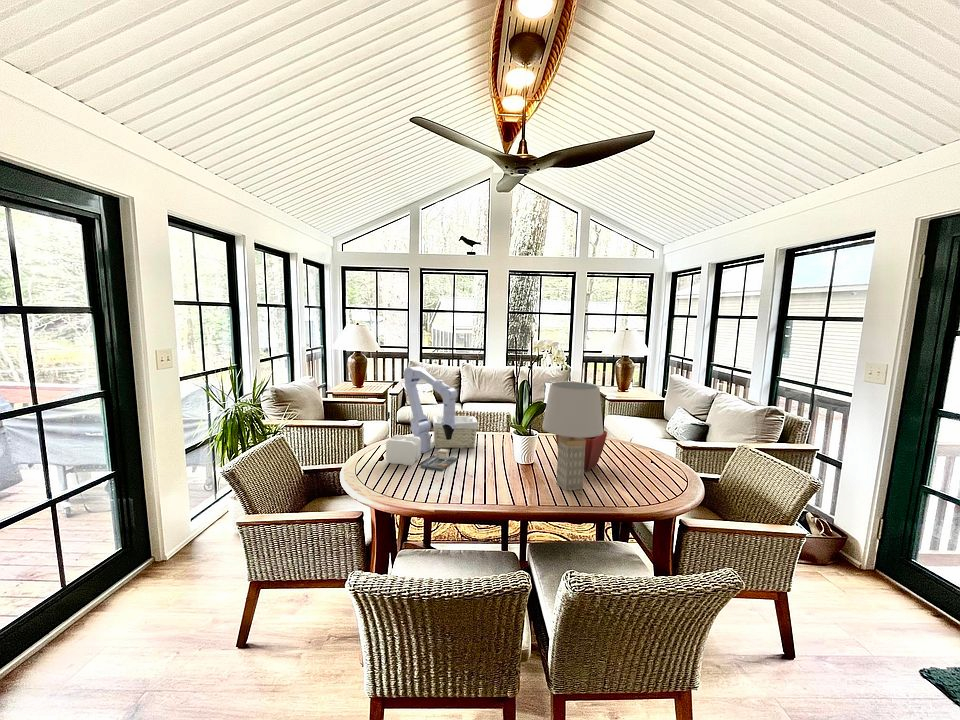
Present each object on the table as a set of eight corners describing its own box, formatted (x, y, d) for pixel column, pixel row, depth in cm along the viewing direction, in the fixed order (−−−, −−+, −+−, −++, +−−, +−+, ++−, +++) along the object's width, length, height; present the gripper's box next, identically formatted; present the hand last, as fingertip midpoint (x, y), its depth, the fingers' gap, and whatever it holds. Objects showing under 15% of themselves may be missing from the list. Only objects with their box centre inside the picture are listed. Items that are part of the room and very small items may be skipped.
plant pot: (590, 475, 198) (592, 439, 196) (552, 465, 210) (554, 431, 208) (606, 464, 213) (608, 431, 212) (570, 456, 225) (571, 424, 223)
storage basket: (473, 440, 249) (474, 415, 247) (477, 449, 233) (478, 422, 231) (431, 440, 245) (432, 415, 244) (433, 449, 229) (433, 422, 228)
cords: (433, 456, 219) (433, 454, 218) (436, 456, 218) (436, 455, 218) (418, 465, 205) (418, 463, 205) (421, 466, 204) (421, 464, 204)
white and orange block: (440, 456, 214) (441, 448, 213) (448, 457, 212) (448, 449, 212) (438, 458, 211) (438, 450, 210) (445, 459, 209) (445, 451, 209)
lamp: (555, 501, 169) (560, 391, 165) (530, 477, 193) (534, 380, 189) (611, 495, 176) (618, 389, 172) (581, 473, 200) (586, 380, 196)
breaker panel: (437, 456, 218) (437, 453, 218) (457, 460, 214) (457, 456, 214) (420, 467, 202) (420, 463, 202) (441, 471, 198) (442, 467, 198)
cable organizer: (383, 463, 206) (384, 439, 205) (392, 456, 216) (392, 433, 215) (414, 466, 203) (414, 442, 202) (421, 459, 213) (421, 436, 212)
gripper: (436, 410, 219) (436, 436, 221) (446, 416, 206) (446, 444, 208) (449, 409, 222) (449, 435, 224) (460, 415, 209) (459, 442, 211)
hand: (448, 439), depth 216 cm, fingers closed
